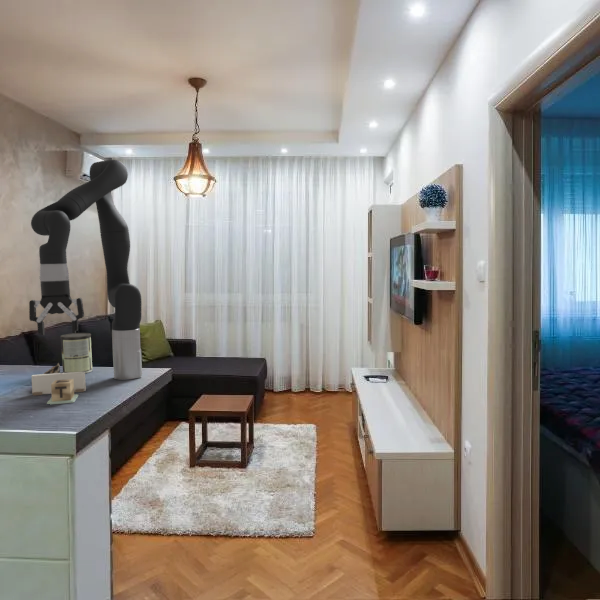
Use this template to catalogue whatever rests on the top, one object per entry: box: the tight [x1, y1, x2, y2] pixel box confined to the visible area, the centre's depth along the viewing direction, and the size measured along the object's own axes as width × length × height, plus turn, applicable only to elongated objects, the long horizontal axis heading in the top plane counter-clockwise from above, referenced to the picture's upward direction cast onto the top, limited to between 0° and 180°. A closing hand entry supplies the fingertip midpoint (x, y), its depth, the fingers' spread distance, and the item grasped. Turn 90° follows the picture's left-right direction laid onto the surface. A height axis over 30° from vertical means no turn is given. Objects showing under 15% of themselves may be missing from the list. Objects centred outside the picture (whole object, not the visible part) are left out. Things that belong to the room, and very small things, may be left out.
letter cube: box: [51, 379, 75, 401], centre depth 138 cm, size 5×5×5 cm
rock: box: [43, 362, 61, 374], centre depth 153 cm, size 9×7×10 cm
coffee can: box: [60, 332, 93, 374], centre depth 175 cm, size 10×10×14 cm
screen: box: [31, 372, 87, 397], centre depth 147 cm, size 15×3×6 cm, turn 105°
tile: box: [46, 393, 79, 405], centre depth 138 cm, size 7×7×1 cm
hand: (58, 333), depth 139 cm, fingers open, 8 cm apart
